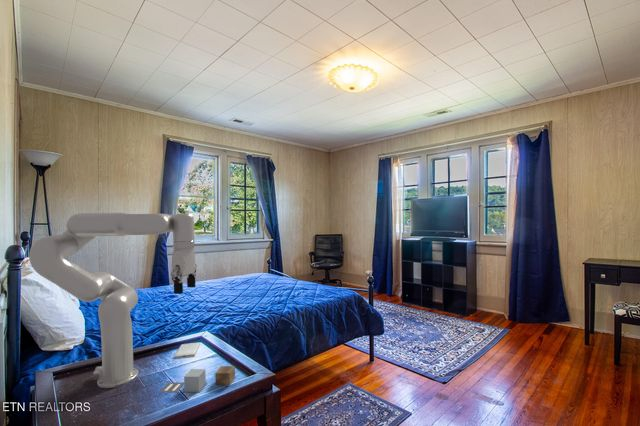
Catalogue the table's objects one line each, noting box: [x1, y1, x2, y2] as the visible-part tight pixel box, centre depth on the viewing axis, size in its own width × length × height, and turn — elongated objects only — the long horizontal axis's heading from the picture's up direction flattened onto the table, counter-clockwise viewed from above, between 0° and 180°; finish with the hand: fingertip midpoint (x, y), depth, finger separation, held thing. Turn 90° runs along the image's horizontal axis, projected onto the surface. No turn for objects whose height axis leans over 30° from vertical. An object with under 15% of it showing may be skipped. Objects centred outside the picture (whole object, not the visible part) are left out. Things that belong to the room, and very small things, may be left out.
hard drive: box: [173, 342, 201, 359], centre depth 137 cm, size 2×8×12 cm
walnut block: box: [214, 365, 236, 387], centre depth 109 cm, size 5×5×5 cm
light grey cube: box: [183, 368, 207, 392], centre depth 106 cm, size 5×5×5 cm
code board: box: [159, 381, 208, 394], centre depth 106 cm, size 16×10×1 cm, turn 86°
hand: (185, 290), depth 121 cm, fingers open, 9 cm apart
